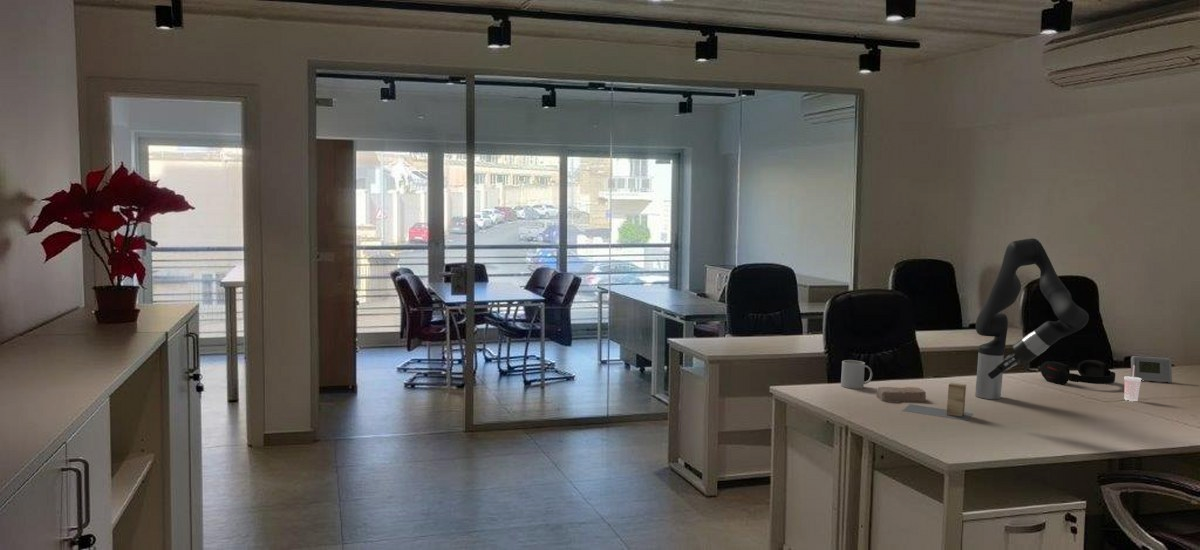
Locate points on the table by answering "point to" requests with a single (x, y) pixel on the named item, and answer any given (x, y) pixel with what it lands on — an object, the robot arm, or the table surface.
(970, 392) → the table surface
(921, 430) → the table surface
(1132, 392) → the beverage cup
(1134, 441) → the table surface
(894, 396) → the brick
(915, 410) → the mat
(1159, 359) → the digital clock
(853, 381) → the mug
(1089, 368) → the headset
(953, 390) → the oak block
